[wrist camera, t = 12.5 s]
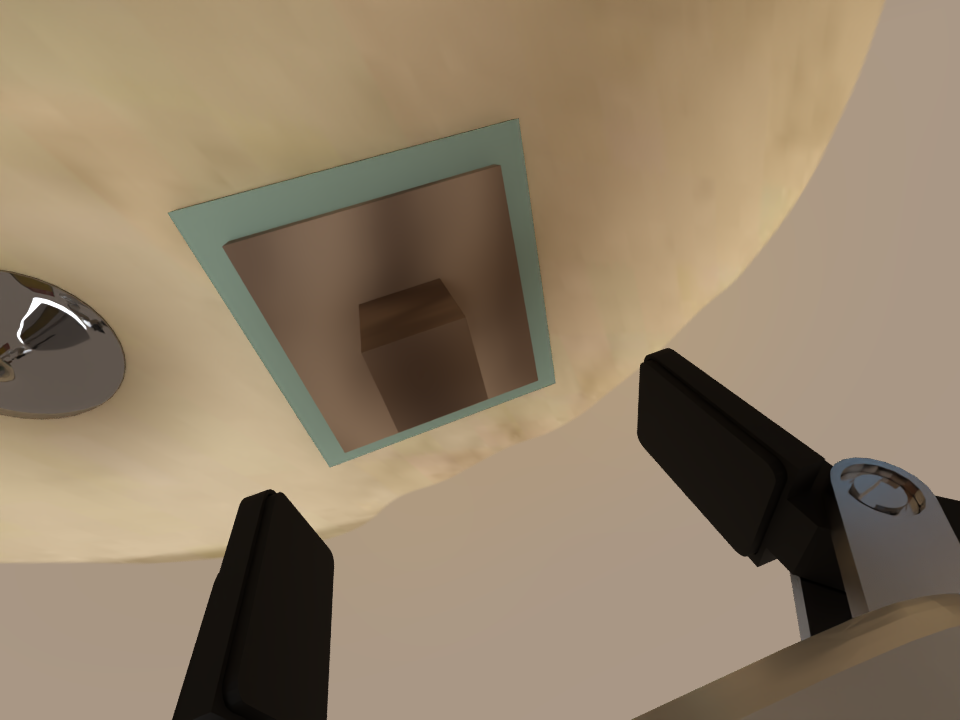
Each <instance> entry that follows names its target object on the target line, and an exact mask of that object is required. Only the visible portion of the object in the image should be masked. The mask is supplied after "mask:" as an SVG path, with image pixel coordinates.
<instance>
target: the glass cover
mask: <svg viewBox="0 0 960 720" xmlns="http://www.w3.org/2000/svg"><path fill="white" fill-rule="evenodd" d="M222 248H223V249H224V251H225V253H226V254H227V256H228V258H229V259H230V261H231V263H232V264H233V266H234V268H235V269H236V271H237V273H238V274H239V276H240V278H241V280H242V281H243V283H244V285H245V286H246V288H247V290H248V291H249V293H250V295H251V296H252V298H253V300H254V301H255V303H256V305H257V306H258V308H259V310H260V311H261V313H262V315H263V316H264V318H265V320H266V321H267V323H268V325H269V326H270V328H271V330H272V332H273V333H274V335H275V337H276V338H277V340H278V342H279V343H280V345H281V347H282V348H283V350H284V352H285V353H286V355H287V357H288V358H289V360H290V362H291V363H292V365H293V367H294V368H295V370H296V372H297V373H298V375H299V377H300V379H301V380H302V382H303V384H304V385H305V387H306V389H307V390H308V392H309V394H310V395H311V397H312V399H313V400H314V402H315V404H316V405H317V407H318V409H319V410H320V412H321V414H322V415H323V417H324V419H325V420H326V422H327V424H328V425H329V427H330V429H331V431H332V432H333V434H334V436H335V437H336V439H337V441H338V442H339V444H340V446H341V447H342V449H343V451H344V452H345V453H347V452H349V451H352V450H355V449H357V448H360V447H363V446H365V445H368V444H371V443H373V442H376V441H379V440H381V439H384V438H387V437H389V436H392V435H395V434H397V433H400V432H403V431H405V430H408V429H411V428H413V427H416V426H419V425H421V424H424V423H427V422H429V421H432V420H435V419H437V418H440V417H443V416H445V415H448V414H451V413H453V412H456V411H459V410H461V409H464V408H467V407H469V406H472V405H475V404H477V403H480V402H483V401H485V400H488V399H491V398H493V397H496V396H499V395H501V394H504V393H507V392H509V391H512V390H515V389H517V388H520V387H523V386H525V385H528V384H531V383H533V382H536V381H538V376H537V370H536V364H535V358H534V353H533V347H532V341H531V336H530V330H529V324H528V318H527V313H526V307H525V301H524V296H523V290H522V284H521V278H520V273H519V267H518V261H517V256H516V250H515V244H514V239H513V233H512V227H511V221H510V216H509V210H508V204H507V199H506V193H505V187H504V181H503V176H502V170H501V165H495V164H493V165H490V166H486V167H483V168H479V169H476V170H472V171H469V172H465V173H462V174H459V175H455V176H452V177H448V178H445V179H441V180H438V181H434V182H431V183H428V184H424V185H421V186H417V187H414V188H410V189H407V190H403V191H400V192H396V193H393V194H390V195H386V196H383V197H379V198H376V199H372V200H369V201H365V202H362V203H359V204H355V205H352V206H348V207H345V208H341V209H338V210H334V211H331V212H328V213H324V214H321V215H317V216H314V217H310V218H307V219H303V220H300V221H296V222H293V223H290V224H286V225H283V226H279V227H276V228H272V229H269V230H265V231H262V232H259V233H255V234H252V235H248V236H245V237H241V238H238V239H234V240H231V241H228V242H227V243H226V244H224V245H223V246H222Z"/></svg>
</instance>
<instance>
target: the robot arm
mask: <svg viewBox="0 0 960 720" xmlns="http://www.w3.org/2000/svg"><path fill="white" fill-rule="evenodd" d="M637 427H638V428H637V435H638V439H639V441H640V443H641V444H642V446H643V447H644V448H645V449H646V450H647V452H648V453H649V454H650V455H651V456H652V457H653V458H654V459H655V461H656V462H657V463H658V464H659V465H660V466H661V467H662V468H663V470H664V471H665V472H666V473H667V474H668V475H669V476H670V478H671V479H672V480H673V481H674V482H675V483H676V484H677V486H678V487H679V488H680V489H681V490H682V491H683V492H684V493H685V495H686V496H687V497H688V498H689V499H690V500H691V501H692V502H693V504H695V506H696V507H697V508H698V509H699V510H700V511H701V513H702V514H703V515H704V516H705V517H706V518H707V519H708V520H709V522H710V523H711V524H712V525H713V526H714V527H715V528H716V529H717V531H718V532H719V533H720V534H721V535H722V536H723V537H724V539H726V541H727V542H728V543H729V544H730V545H731V546H732V547H733V549H734V550H735V551H736V552H737V553H739V554H740V555H742V556H748V557H749V558H750V559H751V560H752V561H753V563H754V564H755V565H756V566H757V567H759V566H761V565H764V564H766V563H768V562H771V561H773V560H775V559H778V560H779V561H780V562H781V563H782V564H783V565H784V566H785V567H786V568H787V569H788V570H789V571H790V576H791V582H792V588H793V594H794V601H795V607H796V612H797V619H798V624H799V631H800V637H801V641H800V642H798V643H796V644H793V645H791V646H789V647H787V648H784V649H782V650H780V651H778V652H776V653H774V654H771V655H769V656H767V657H765V658H763V659H761V660H759V661H756V662H754V663H752V664H750V665H748V666H746V667H743V668H741V669H739V670H737V671H735V672H733V673H730V674H728V675H726V676H724V677H722V678H720V679H718V680H715V681H713V682H711V683H709V684H707V685H705V686H702V687H701V688H698V689H696V690H694V691H692V692H690V693H688V694H686V695H683V696H681V697H679V698H677V699H674V700H672V701H670V702H668V703H666V704H664V705H662V706H660V707H657V708H655V709H653V710H651V711H649V712H647V713H645V714H643V715H640V716H638V717H636V718H634V719H632V720H960V501H957V500H953V499H948V498H943V497H939V496H935V495H934V494H933V493H932V492H931V490H930V489H929V487H928V486H926V485H925V484H924V483H923V482H922V481H920V480H919V479H918V478H917V477H915V476H914V475H912V474H910V473H908V472H907V471H905V470H903V469H901V468H899V467H896V466H894V465H891V464H889V463H886V462H882V461H878V460H874V459H870V458H849V459H843V460H841V461H839V462H837V463H836V464H834V466H832V465H830V464H829V463H828V462H826V461H825V459H824V458H823V457H822V456H820V455H819V454H818V453H816V452H815V451H814V450H812V449H811V448H809V447H808V446H807V445H805V444H804V443H802V442H801V441H800V440H798V439H797V438H795V437H794V436H793V435H791V434H790V433H788V432H787V431H785V430H784V429H783V428H781V427H780V426H779V425H777V424H776V423H774V422H773V421H772V420H770V419H769V418H767V417H766V416H764V415H763V414H762V413H761V412H759V411H757V410H756V409H755V408H754V407H752V406H751V405H749V404H748V403H747V402H745V401H744V400H742V399H741V398H739V397H738V396H737V395H735V394H734V393H733V392H731V391H730V390H728V389H727V388H726V387H724V386H723V385H721V384H720V383H719V382H717V381H716V380H714V379H713V378H712V377H710V376H709V375H707V374H706V373H705V372H703V371H702V370H700V369H699V368H698V367H696V366H695V365H694V364H692V363H691V362H689V361H688V360H686V359H685V358H684V357H682V356H681V355H680V354H678V353H677V352H675V351H674V350H672V349H670V348H666V349H663V350H660V351H657V352H655V353H652V354H649V355H647V356H646V357H645V359H644V362H643V363H641V365H640V380H639V402H638V426H637ZM333 576H334V559H333V555H332V553H331V551H330V549H329V548H328V547H327V545H326V544H325V543H324V542H323V540H322V539H321V538H320V537H319V536H318V534H317V533H316V532H315V531H314V530H313V528H312V527H311V526H310V525H309V524H308V522H307V521H306V520H305V519H304V517H303V516H302V515H301V514H300V513H299V511H298V510H297V509H296V508H295V507H294V505H293V504H292V503H291V502H290V501H289V499H288V498H287V497H286V496H285V495H284V494H283V493H282V492H279V493H276V492H275V491H274V490H271V489H269V490H266V491H263V492H260V493H258V494H255V495H252V496H249V497H246V498H244V499H243V500H242V501H241V503H240V505H239V509H238V512H237V515H236V519H235V522H234V525H233V529H232V532H231V535H230V539H229V542H228V545H227V548H226V552H225V555H224V558H223V562H222V565H221V568H220V572H219V573H218V575H217V577H216V579H215V582H214V585H213V588H212V591H211V595H210V598H209V601H208V604H207V608H206V611H205V614H204V617H203V621H202V624H201V627H200V630H199V634H198V637H197V640H196V643H195V647H194V650H193V654H192V657H191V660H190V663H189V666H188V670H187V673H186V676H185V680H184V683H183V686H182V689H181V692H180V696H179V699H178V702H177V706H176V709H175V712H174V716H173V719H172V720H327V703H328V702H327V701H328V681H329V660H330V638H331V618H332V597H333Z"/></svg>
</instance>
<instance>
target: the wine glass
mask: <svg viewBox="0 0 960 720" xmlns="http://www.w3.org/2000/svg"><path fill="white" fill-rule="evenodd" d="M125 368H126V365H125V355H124V352H123V349H122V346H121V343H120V341H119V340H118V338H117V336H116V335H115V333H114V331H113V330H112V329H111V327H110V326H109V325H108V324H107V323H106V322H105V320H104V319H103V318H102V317H101V316H100V315H98V314H97V313H96V312H95V311H94V310H93V309H92V308H91V307H89V306H88V305H87V304H85V303H84V302H82V301H81V300H79V299H78V298H76V297H75V296H73V295H71V294H69V293H68V292H66V291H64V290H62V289H60V288H58V287H56V286H54V285H51V284H49V283H46V282H44V281H41V280H39V279H36V278H33V277H29V276H26V275H22V274H18V273H14V272H9V271H3V270H0V415H4V416H10V417H17V418H24V419H57V418H64V417H69V416H75V415H78V414H81V413H84V412H87V411H90V410H92V409H94V408H96V407H98V406H100V405H102V404H103V403H105V402H106V401H107V400H109V399H110V398H111V397H112V396H113V395H114V394H115V393H116V391H117V390H118V389H119V387H120V385H121V383H122V381H123V379H124V374H125Z"/></svg>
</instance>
